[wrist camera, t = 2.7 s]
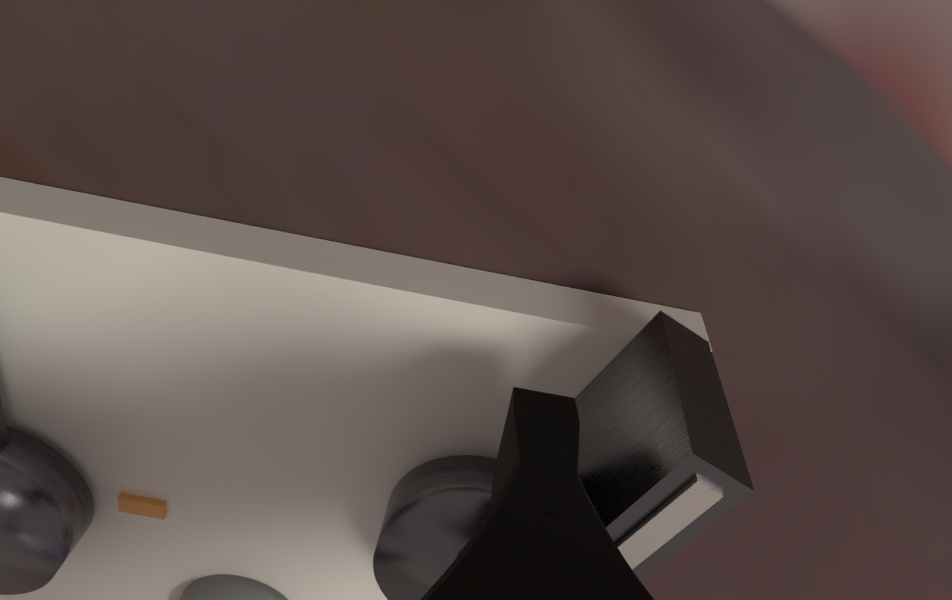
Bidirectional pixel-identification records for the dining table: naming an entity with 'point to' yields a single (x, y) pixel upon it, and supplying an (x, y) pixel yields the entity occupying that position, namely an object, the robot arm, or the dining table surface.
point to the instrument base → (260, 387)
